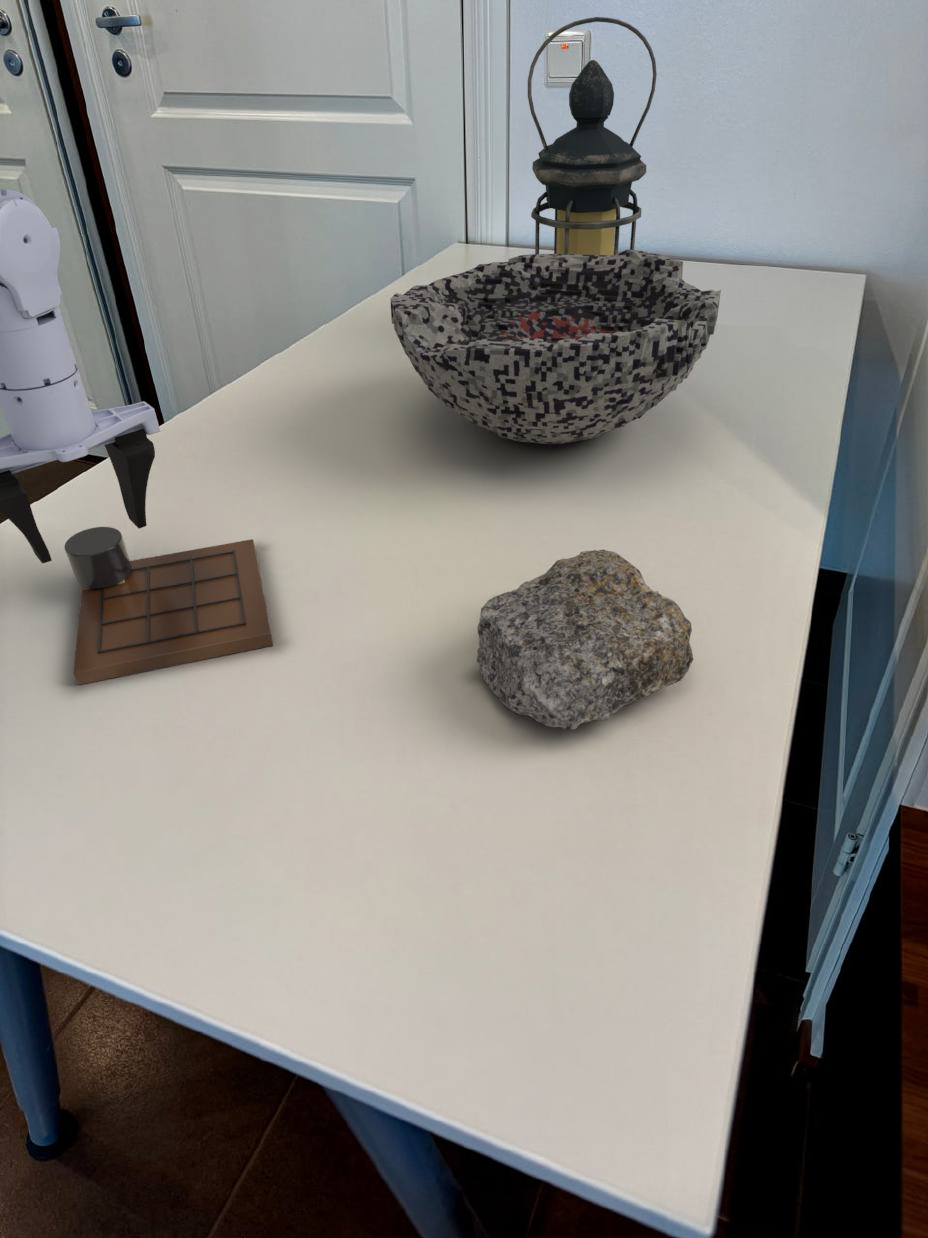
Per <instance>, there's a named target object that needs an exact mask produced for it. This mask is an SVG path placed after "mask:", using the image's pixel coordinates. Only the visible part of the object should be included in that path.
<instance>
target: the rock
mask: <svg viewBox="0 0 928 1238" xmlns="http://www.w3.org/2000/svg"><path fill="white" fill-rule="evenodd" d="M692 631H693V628H692V621H690V620H689V619H688V618H687V617H686V615H685V614H684V612H683V611H682V609H681V607H680V606H679V605H678V604H677V602H675V601H674V600H673V599H671V598H669V597H667V596H664V595H662V594H661V593H660V592H659V591H658V590H655V591H654V590H653V589H652V588H651V587H650V586H648V585H647V583H646V582H645V579H644V576H643V575H642V572H641V571H640V570H639V569H638V568H637V567H636V566H635V565H633V564H632V563H630V562H629V561H628V560H627V559H626V558H624V557H623V556H622V555H620V554H618V553H617V552H615V551H611V550H607V549H600V550H596V549H595V550H584V551H580V553H579V554H578V555H575V556H573V557H568V558H561V559H557V560H556V561H555V562H554V563H553V565H552V566H551V567H549V569H548V570H547V571H546V572H545V573H543V574H541V575H539V576H537V577H535V578H533V579H531V580H528V581H524V582H523V583H522V584H520V585H519V587H518V588H517V589H513V590H511V591H506V592H503V593H500V594H498V595H494V596H493V597H492V598H489V599H488V600H487V601H486V602H485V604H484V605H483V606H482V607H481V608H480V617H479V622H478V624H477V634H478V637H479V639H478V648H477V650H476V651H477V657H476V662H477V664H478V668H479V673H480V674H481V676H482V678H483V680H484V682H486V684H487V685H488V688H489V689H490V690H491V691H492V692H493V694H494V696H496V697H497V698H499V701H500V702H501V703H502V704H503V705H504V707H506V708H507V709H509V710H510V711H511V712H512V713H516V714H519V715H520V716H521V717H523V716H529V717H531V718H533V719H534V720H535V721H536V722H538V723H540V724H542V725H544V726H546V727H550V728H561V729H563V730H576V729H578V727H579V726H580V725H581V724H584V723H590V722H592V721H594V720H595V721H599V720H601V721H608V720H609V719H610V718H612V717H613V716H614V715H616V713H617V712H618V711H620V710H621V709H622V708H623V707H624V706H626V705H631V704H632V703H633V702H637V701H640V700H642V699H644V698H646V697H648V696H650V695H652V694H654V693H656V692H658V691H660V690H661V689H663V688H665V687H669V686H671V685H674V684H677V683H678V682H681V681H682V680H683V678H684V677H685V675H686V674H687V673H688V672H689V670H690V667H691V665H692V663H693V661H694V654H693V649H692V647H691V643H690V641H691V635H692Z"/></svg>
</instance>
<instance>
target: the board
mask: <svg viewBox="0 0 928 1238" xmlns="http://www.w3.org/2000/svg"><path fill="white" fill-rule="evenodd" d="M130 562H131V565H132V571H131V573H130V575H129V576H128V577H127V578H126V579H124V580H123V581H121V582H119V583H117V584H115V585H113V586H109V587H106V588H100V589H89V588H84V587H82V586H81V593H80V602H79V603H80V604H79V614H78V622H77V633H76V643H75V650H74V651H75V652H74V660H73V661H74V662H73V672H72V674H73V677H74V678H75V681H76V684H77V685H78V686H81V685H85V684H91V683H94V682H99V681H104V680H109V679H114V678H119V677H125V676H129V675H134V674H139V673H143V672H150V671H154V670H158V669H163V668H168V667H173V666H177V665H178V666H179V665H183V664H188V663H193V662H198V661H203V660H209V659H213V658H217V657H222V656H228V655H233V654H238V653H242V652H243V653H244V652H247V651H253V650H256V649H257V650H258V649H263V648H267V647H272V646H274V641H273V636H272V635H273V634H272V631H271V630H272V629H271V626H270V620H269V615H268V609H267V604H266V600H265V594H264V593H265V592H264V588H263V583H262V578H261V572H260V567H259V562H258V556H257V551H256V547H255V542H254V539H252V538H251V539H246V540H240V541H235V542H228V543H222V544H218V545H212V546H207V547H201V548H195V549H190V550H184V551H178V552H172V553H167V554H161V555H156V556H149V557H145V558H139V559H133V560H130Z"/></svg>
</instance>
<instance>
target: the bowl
mask: <svg viewBox="0 0 928 1238" xmlns="http://www.w3.org/2000/svg"><path fill="white" fill-rule="evenodd" d="M683 268H684V261H683V260H681V259H672V258H670V257H668V256H666V255H662V254H659V253H652V252H651V253H650V252H648V251H644V250H636V249H634V250H630V249H624V250H623V251H621V252H618V254H617V255H614V254H613V255H579V254H554V253H539V254H535V253H533V254H522V255H521V254H520V255H517V256H514V257H511V258H509V259H508V261H492V262H490V263H489V262H488V263H481V264H478V265H476V266H475V267H473V268H471V269H468V270H465V271H463V272H459V273H455V274H452V275H449V276H446V277H442V278H439V279H436V280H434V281H432V282H430V283H429V284H423V285H421V284H420V285H413V286H412V287H411V288H410V289H408V290H407V291H406V292H404V293H403V294H402V293H398V292H395V294H393V295H392V296H391V297H390V299H389V300H390V316H391V325H393V329H394V332H395V334H396V336H397V338H398V340H399V343H400V344H401V347H402V350H403V351H404V354H405V355H406V357H407V358H408V359H409V361H410V363H411V365H412V367H413V369H414V371H415V372H416V373H417V374H418V375H419V376H420V378H421V379H422V381H423V383H424V384H425V385H426V386H427V388H428V390H429V392H431V393H432V394H433V395H434V396H435V397H436V399H438V400H440V401H441V402H443V403H444V404H445V406H446V407H447V408H449V409H450V410H452V411H453V412H455V413H456V414H457V415H459V416H460V417H462V418H464V419H465V420H466V421H468V422H470V423H472V424H473V425H475V426H477V427H479V428H482V429H485V430H487V431H488V433H494V434H496V435H497V436H499V437H500V438H502V439H509V440H512V441H515V442H519V443H530V444H531V443H532V444H540V445H564V444H570V443H575V442H576V443H578V442H581V441H588V440H592V439H596V438H598V437H599V436H601V435H603V434H606V433H608V432H612V431H614V430H616V429H620V428H623V427H625V426H626V425H627V424H629V423H631V422H633V421H635V420H637V419H638V420H639V419H641V418H642V417H643V416H644V415H645V414H646V413H647V412H648V411H649V410H651V409H652V408H654V407H656V406H658V404H659V403H661V402H662V401H663V400H664V399H665V398H667V396H668V395H669V394H670V393H671V392H674V391H677V389H678V385H680V384H682V383H683V381H684V380H686V379H688V378H689V376H690V374H691V373H692V372H693V369H694V366H695V363H696V362H698V361H699V360H700V359H701V357H702V354H703V351H705V350H706V349H707V348H708V344H709V342H710V338H711V336H713V335H714V334H715V329H716V325H717V321H718V316H719V308H720V301H721V300H720V299H721V291H722V290H714V289H708V290H701V289H699V288H697V287H696V286H694V285H692V284H690V283H688V282H686V281H685V280H684V279H683V272H684V270H683Z"/></svg>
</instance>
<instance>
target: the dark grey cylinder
mask: <svg viewBox="0 0 928 1238" xmlns="http://www.w3.org/2000/svg"><path fill="white" fill-rule="evenodd" d="M64 552H65V554H66V557H67V559H68V563H69V565H70V568H71V571H72V573H73V575H74V579H75V581H76V583H77V584H78V585H79V586H80V587H81V588H82V587H84V588H89V589H100V588H106V587H109V586H113V585H115V584H117V583H119V582H121V581H123V580H124V579H126V578H127V577H128V576H129V575H130V573H131V571H132V565H131V562H130V561H131V559H130V556H129V553H128V550H127V547H126V544H125V541H124V538H123V534H122V532H121V531H120V530H118V529H117V528H115V527H112V526H111V527H110V526H96V527H90V528H87V529H84V530H81V531H78V532H77V533H75V534H73V535H71V536H70V537H69V538H68V539H67V540H66V541H65V543H64Z"/></svg>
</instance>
